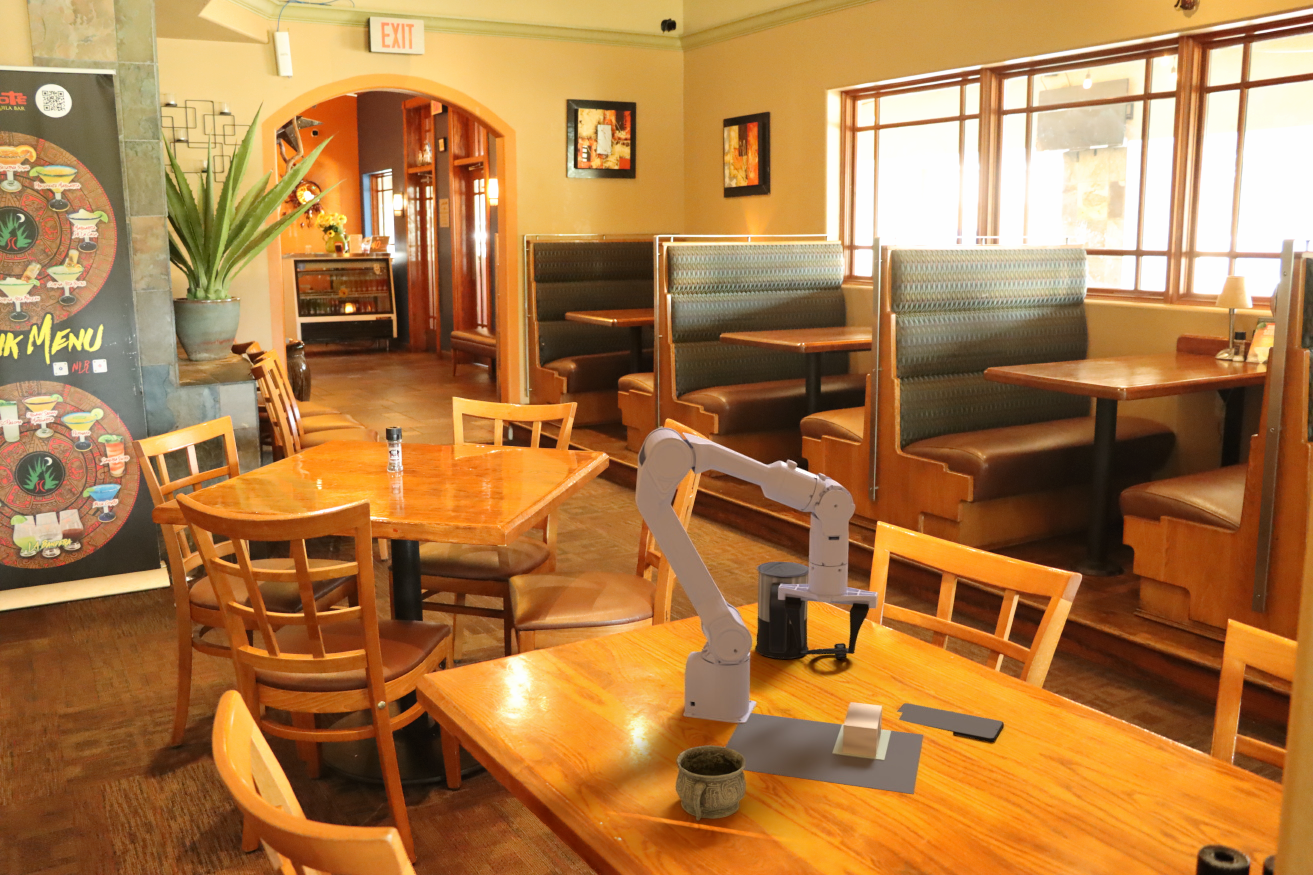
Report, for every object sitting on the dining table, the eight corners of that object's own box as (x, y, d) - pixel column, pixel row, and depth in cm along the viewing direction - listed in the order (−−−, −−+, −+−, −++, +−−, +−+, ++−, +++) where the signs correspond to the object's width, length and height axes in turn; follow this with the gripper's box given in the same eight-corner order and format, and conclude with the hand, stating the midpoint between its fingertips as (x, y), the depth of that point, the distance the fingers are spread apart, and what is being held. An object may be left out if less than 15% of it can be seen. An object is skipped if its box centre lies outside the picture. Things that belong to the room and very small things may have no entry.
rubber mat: (714, 768, 147) (714, 764, 146) (744, 714, 163) (744, 711, 163) (913, 796, 139) (913, 792, 139) (923, 737, 156) (923, 733, 156)
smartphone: (903, 701, 167) (1004, 720, 160) (903, 707, 167) (1004, 726, 160) (890, 718, 161) (993, 739, 154) (889, 724, 161) (993, 745, 154)
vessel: (731, 837, 130) (732, 787, 128) (661, 824, 132) (661, 775, 131) (756, 790, 141) (757, 744, 140) (691, 779, 144) (691, 734, 143)
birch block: (849, 728, 158) (850, 701, 157) (881, 731, 156) (882, 705, 156) (842, 752, 150) (843, 724, 149) (875, 756, 149) (876, 728, 148)
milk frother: (750, 641, 194) (751, 561, 191) (837, 638, 196) (840, 558, 193) (766, 672, 180) (768, 585, 177) (860, 668, 182) (863, 582, 179)
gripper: (774, 564, 160) (773, 652, 163) (875, 572, 156) (871, 663, 158) (783, 551, 167) (782, 636, 169) (880, 559, 163) (877, 646, 165)
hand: (826, 648), depth 164 cm, fingers open, 7 cm apart
